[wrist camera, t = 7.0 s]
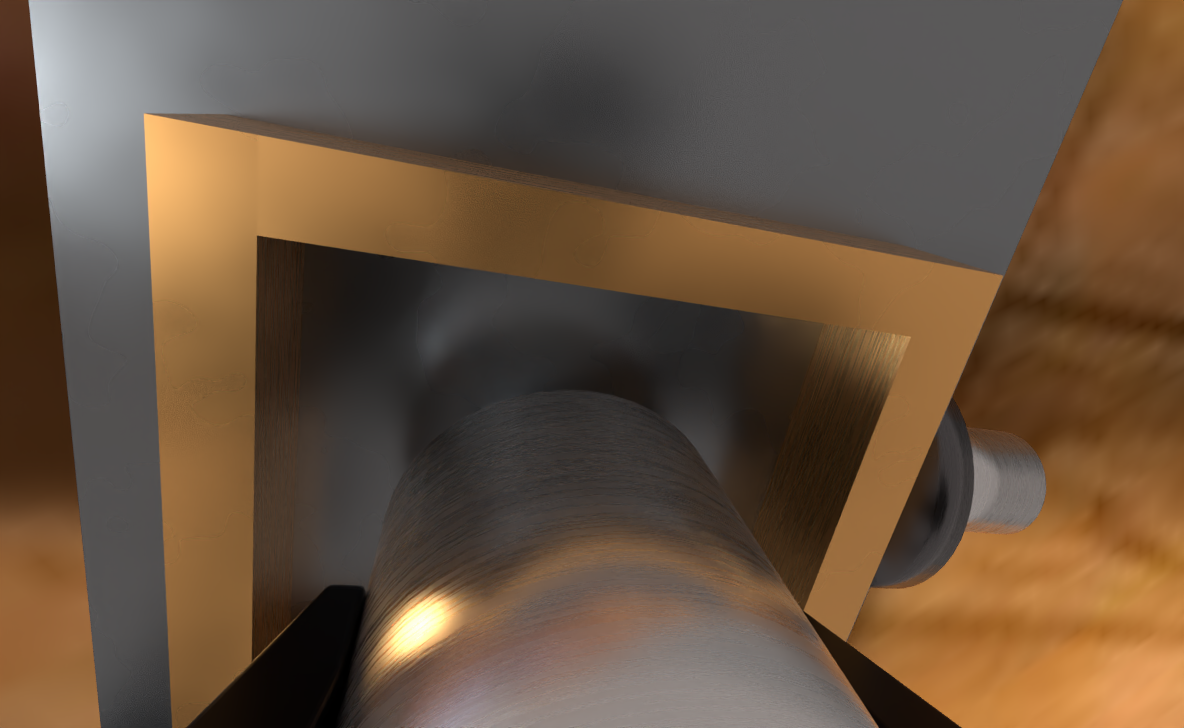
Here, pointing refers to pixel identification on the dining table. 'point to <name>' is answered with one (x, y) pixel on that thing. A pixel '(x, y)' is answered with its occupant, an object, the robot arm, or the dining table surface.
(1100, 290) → the dining table surface
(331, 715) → the robot arm
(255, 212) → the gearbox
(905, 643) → the dining table surface
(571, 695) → the silver calibration weight
